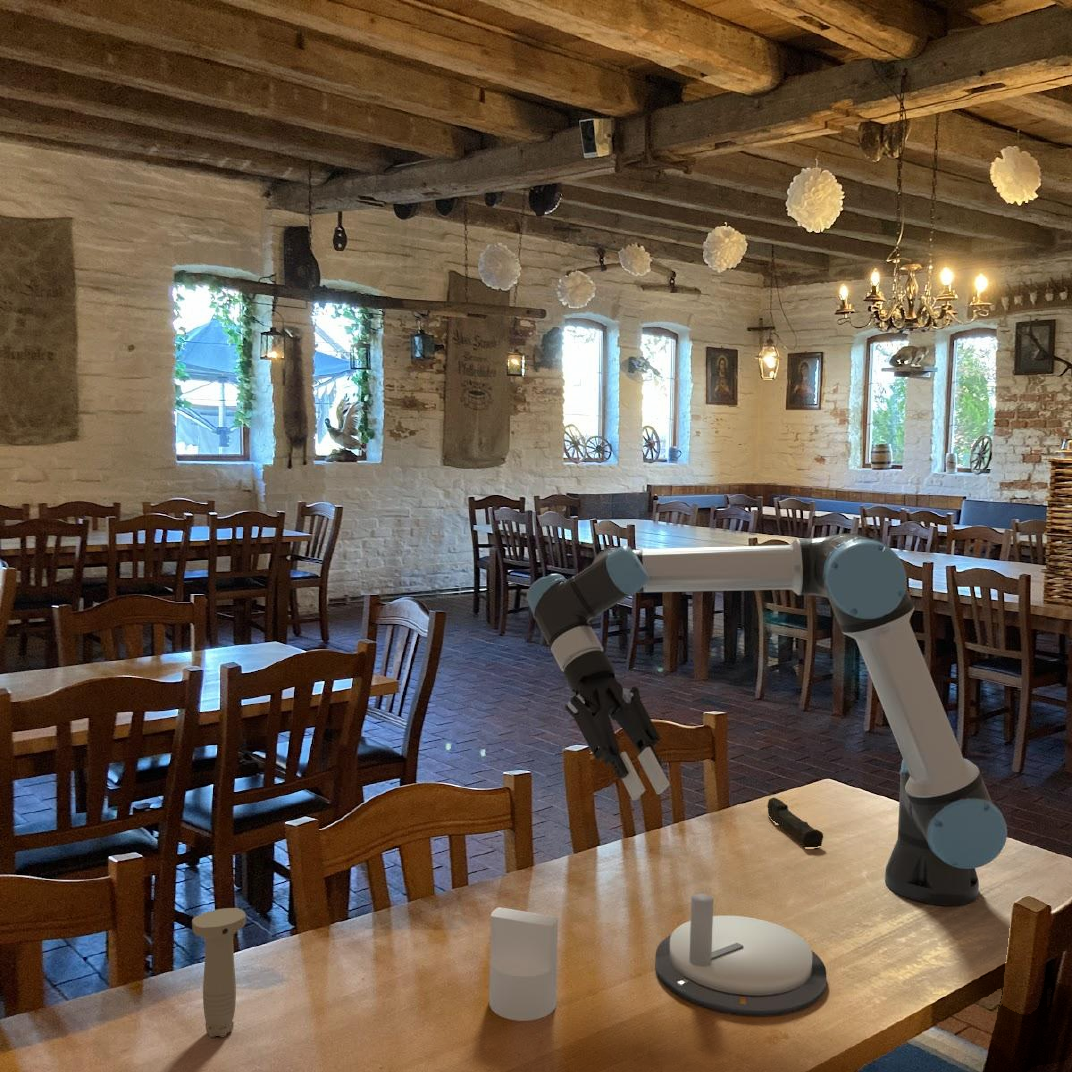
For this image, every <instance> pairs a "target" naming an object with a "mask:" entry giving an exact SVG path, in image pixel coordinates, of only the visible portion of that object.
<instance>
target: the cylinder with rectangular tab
mask: <svg viewBox="0 0 1072 1072" xmlns="http://www.w3.org/2000/svg"><path fill="white" fill-rule="evenodd" d="M558 928H559V917H558V916H554V915H548V914H542V913H535V912H530V911H523V910H520V909H519V910H517V909H513V908H512V909H511V908H507V907H501V906H498V907H497V908H495V909H494V910H492V912H491V914H490V942H489V943H490V947H489V949H490V951H489V955H490V956H489V1008H490V1009H491V1011H493V1012H494V1014H496V1015H497V1016H500V1017H502V1018H504V1019H508V1020H511V1021H512V1020H513V1021H519V1022H523V1021H524V1022H526V1021H528V1022H529V1021H534V1020H535V1021H536V1020H539V1019H542V1017H543V1018H545V1017H547V1016H548V1014H549V1015H550V1014H552V1013H553V1011H554V1010H555V1009H556V1006H557V986H558V985H557V984H558V983H557V980H558V976H557V975H558V942H559V941H558V936H559V935H558V934H559V931H558V930H559V929H558Z"/></svg>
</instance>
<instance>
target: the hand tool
mask: <svg viewBox="0 0 1072 1072" xmlns="http://www.w3.org/2000/svg"><path fill="white" fill-rule="evenodd" d="M766 808H767V815H768V814H769V815H768V817H769V816H770V817H771V819H772V820H773V821H775V822H776V823H778V824H779V825H780V826H782V829H784V831H786V832H787V833H789V834H790V835H791V836H792V837H794V839H797V841H799V842H800V843H801V842H802V843H803V844H802V843H801V844H802V847H803V848H804V847H818V846H821V847H822V844H823V840H824V833H823V832H822V831H820V830H818V829H815V828H813V827H812V826H811V825H810V824H809V823H808V822H807V821H804V820H802V819H800V817H798V816H797V815H795V814H794V813H793V812H791V811H790V810H789V806H788V805H787V804H786V803H784V802H783V801H782V800H780V799H778V798H777V797H772V798H770V799H769V798H768V801H767V807H766ZM780 826H779V827H780Z"/></svg>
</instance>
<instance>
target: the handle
mask: <svg viewBox="0 0 1072 1072" xmlns="http://www.w3.org/2000/svg"><path fill="white" fill-rule="evenodd" d="M246 915H247V914H246V912H245V911H244V910H243V909H241V908H237V907H227V908H218V909H214V910H209V911H205V912H203V913H200V914H199V915H197V916H196V915H195V916H194V917H193V918H192V920H191V925H192V926H191V927H192V932H193V934H195V935H196V936H197V937H199V938H202V939H204V942H205V943H204V944H205V947H204V949H205V950H204V966H203V967H204V968H203V981H202V982H203V983H202V984H203V985H202V1003H203V1013H204V1019H205V1024H204V1025H205V1031H206V1034H208V1036H209V1037H210V1038H212V1037H213V1038H216V1037H215V1036H220V1037H219V1038H221V1037H222V1038H225V1037H226V1036H227V1035H228V1034H229V1033H228V1032H230V1031H232V1032H233V1030H234V1023H235V1021H234V1017H235V1012H236V1000H237V984H236V983H237V982H236V981H237V980H236V969H235V956H234V955H235V953H234V935H235V934H236V933H237V932H238V931H239V930H241V929H242V928H244V927H245V925H246V922H247V921H246V920H247V918H246ZM227 1033H228V1034H227ZM230 1033H231V1032H230ZM226 1034H227V1035H226ZM224 1036H225V1037H224Z"/></svg>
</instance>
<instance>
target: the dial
mask: <svg viewBox="0 0 1072 1072" xmlns="http://www.w3.org/2000/svg"><path fill="white" fill-rule="evenodd" d="M690 902H691V903H690V920H689V921H686V922H684V923H682V924H679V926H677V928H675V929H674V930H673V931H672V933H671V934H672V935H671V934H670V935H671V937H670V960H671V962H672V964H673V965H674V967H675V968H676V969H677V970H678V971H679V972H680V973H681V974H682V975H684V976H685V977H687V978H688V979H690V980H692V981H694V982H696V983H698V984H700V985H703V986H705V987H708V988H711V989H714V990H718V991H722V992H727V993H732V994H739V995H752V996H762V995H773V994H780V993H784V992H788V991H791V990H793V989H796V988H798V987H800V986H801V985H803V984H804V983H805V982H806V981H807V980H808V979H809V977H810V975H811V972H812V951H813V950H812V948H811V946H810V945H809V943H808V942H807V941H806V940H805V939H803V937H801V936H800V935H799V934H797V933H796V932H794V931H793V930H790V929H788V928H786V927H785V926H782V925H779V924H777V923H774V922H770V921H767V920H764V919H759V918H753V917H750V916H749V917H747V916H742V915H741V916H740V915H714V897H712V896H711V895H709V894H706V893H705V894H704V893H696V894H693V895H692V896H691V899H690ZM811 950H812V951H811Z"/></svg>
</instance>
